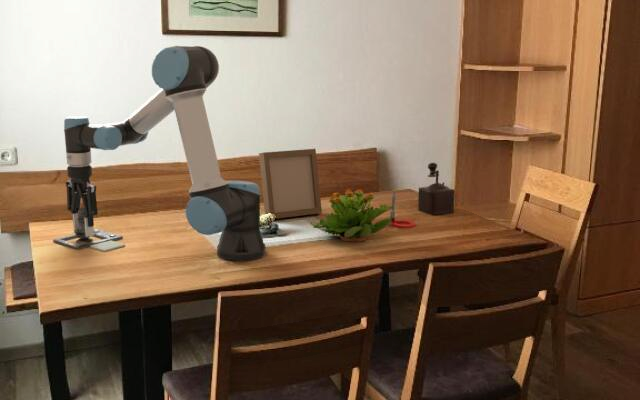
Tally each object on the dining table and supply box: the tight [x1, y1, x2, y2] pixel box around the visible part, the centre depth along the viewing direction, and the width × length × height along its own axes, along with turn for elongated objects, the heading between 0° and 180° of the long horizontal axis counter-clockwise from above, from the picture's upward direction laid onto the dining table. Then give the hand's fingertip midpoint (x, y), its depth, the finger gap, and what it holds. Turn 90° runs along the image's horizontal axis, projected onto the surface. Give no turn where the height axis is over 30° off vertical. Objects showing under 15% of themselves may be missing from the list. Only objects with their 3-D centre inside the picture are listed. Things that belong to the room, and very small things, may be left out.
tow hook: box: [387, 189, 416, 229], centre depth 254 cm, size 8×13×9 cm
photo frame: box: [258, 148, 323, 220], centre depth 266 cm, size 15×22×25 cm
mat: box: [89, 240, 126, 253], centre depth 225 cm, size 8×8×1 cm
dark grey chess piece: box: [73, 205, 94, 244], centre depth 230 cm, size 6×6×12 cm
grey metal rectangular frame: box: [52, 228, 124, 251], centre depth 232 cm, size 14×17×1 cm
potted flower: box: [309, 188, 393, 243], centre depth 236 cm, size 25×24×18 cm
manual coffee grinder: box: [417, 162, 456, 216], centre depth 276 cm, size 16×11×18 cm
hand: (83, 233), depth 230 cm, fingers closed on dark grey chess piece, 6 cm apart
